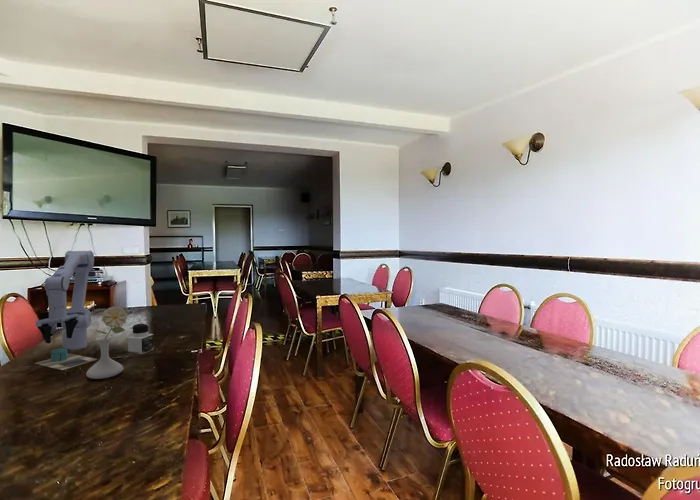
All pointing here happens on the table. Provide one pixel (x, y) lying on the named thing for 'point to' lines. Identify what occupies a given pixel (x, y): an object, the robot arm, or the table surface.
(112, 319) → the flower in vase
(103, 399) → the table surface
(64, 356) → the cap
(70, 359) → the board
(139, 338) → the medicine bottle
